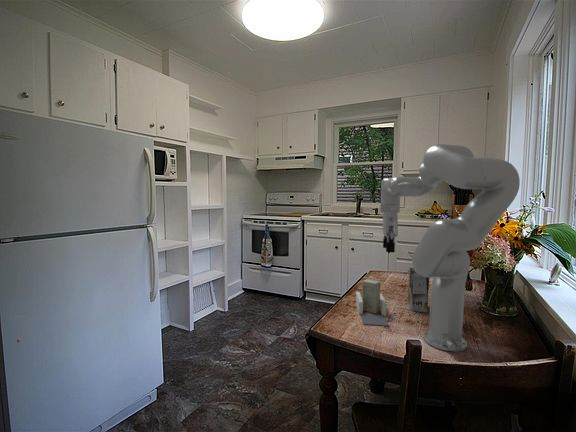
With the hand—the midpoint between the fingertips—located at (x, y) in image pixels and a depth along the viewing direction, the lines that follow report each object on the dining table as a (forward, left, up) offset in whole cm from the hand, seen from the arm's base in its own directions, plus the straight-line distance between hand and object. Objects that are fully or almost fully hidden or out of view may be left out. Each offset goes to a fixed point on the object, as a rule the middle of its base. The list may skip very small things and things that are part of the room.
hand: (388, 249), depth 127 cm
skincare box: (-4, +7, -25) cm, 26 cm away
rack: (-3, +7, -24) cm, 26 cm away
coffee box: (+2, -13, -25) cm, 28 cm away
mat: (-14, +7, -25) cm, 29 cm away
